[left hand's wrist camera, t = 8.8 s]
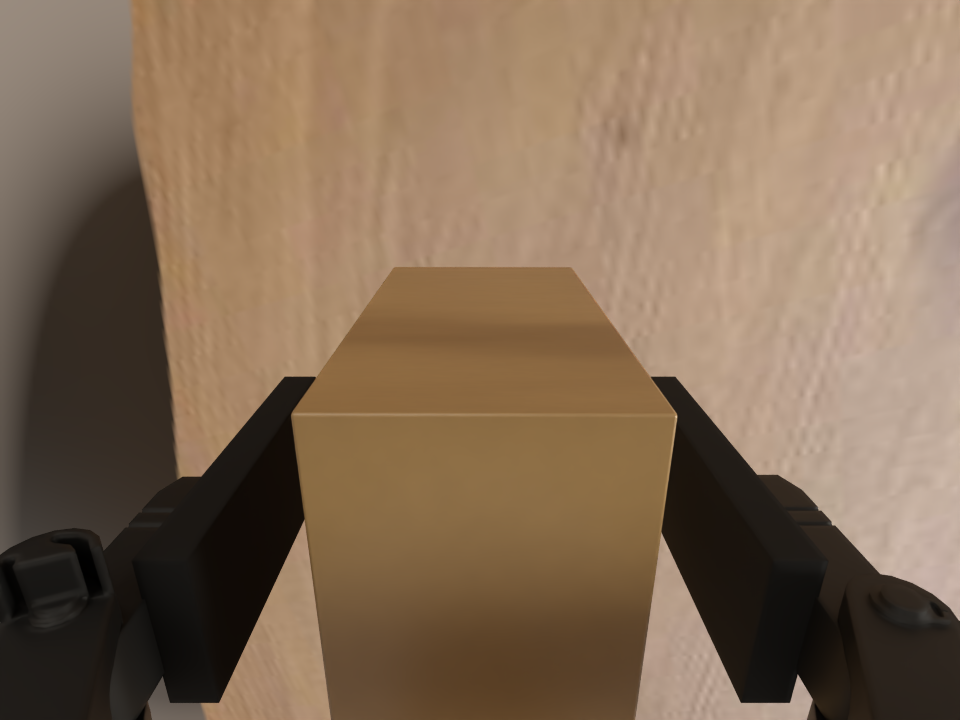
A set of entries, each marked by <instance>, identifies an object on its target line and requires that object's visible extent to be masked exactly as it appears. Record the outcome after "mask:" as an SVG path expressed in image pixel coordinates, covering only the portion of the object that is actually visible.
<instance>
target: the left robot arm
mask: <svg viewBox="0 0 960 720" xmlns="http://www.w3.org/2000/svg"><path fill="white" fill-rule="evenodd" d="M315 379H316V377H284V378H283V379H282V381H281V382H280V383H279V384H278V385H277V387H276V388H275V389H274V390H273V391H272V393H271V394H270V395H269V396H268V397H267V399H266V400H265V401H264V402H263V403H262V405H261V406H260V407H259V408H258V409H257V411H256V412H255V413H254V414H253V415H252V417H251V418H250V419H249V420H248V421H247V423H246V424H245V425H244V426H243V427H242V429H241V430H240V431H239V432H238V433H237V435H236V436H235V437H234V438H233V439H232V441H231V442H230V443H229V444H228V445H227V447H226V448H225V449H224V450H223V451H222V453H221V454H220V455H219V456H218V457H217V459H216V460H215V461H214V462H213V463H212V465H211V466H210V467H209V468H208V469H207V471H206V472H205V473H204V474H203V475H202V477H182V478H180V479H178V480H177V481H175V482H173V483H172V484H170V485H169V486H167V487H165V488H164V489H162V490H160V491H159V492H158V493H157V494H156V495H155V496H154V497H153V498H152V499H151V500H150V502H149V503H148V504H147V505H146V506H145V507H144V508H143V509H142V513H138V515H137V516H136V517H135V518H134V519H133V520H132V521H131V522H130V523H129V527H128V528H125V529H124V530H123V531H122V532H121V533H120V534H119V535H118V536H117V537H116V538H115V540H114V541H113V542H112V543H111V544H110V545H109V546H108V547H107V548H106V549H105V550H104V551H103V547H102V544H101V541H100V537H99V536H98V535H96V534H95V533H94V532H92V531H91V530H85V529H77V528H72V529H64V530H56V531H52V532H48V533H45V534H42V535H38V536H35V537H32V538H30V539H28V540H25V541H23V542H21V543H19V544H17V545H15V546H13V547H11V548H9V549H8V550H6V551H5V552H3V553H2V554H1V555H0V720H152V718H151V712H150V708H149V705H148V700H149V698H150V696H151V695H152V693H153V691H154V690H155V688H156V686H157V685H158V683H159V681H160V680H161V678H162V676H163V679H164V682H165V686H166V690H167V693H168V697H169V700H170V703H219V702H220V700H221V697H222V695H223V693H224V691H225V689H226V687H227V685H228V682H229V680H230V678H231V676H232V674H233V672H234V670H235V667H236V665H237V663H238V661H239V659H240V657H241V655H242V652H243V650H244V648H245V646H246V644H247V642H248V640H249V637H250V635H251V633H252V631H253V629H254V627H255V624H256V622H257V620H258V618H259V616H260V614H261V612H262V609H263V607H264V605H265V603H266V601H267V599H268V597H269V594H270V592H271V590H272V588H273V586H274V584H275V582H276V579H277V577H278V575H279V573H280V571H281V569H282V567H283V564H284V562H285V560H286V558H287V556H288V554H289V552H290V549H291V547H292V545H293V543H294V541H295V539H296V536H297V534H298V532H299V530H300V528H301V526H302V524H303V521H304V519H305V518H304V510H303V503H302V495H301V487H300V480H299V472H298V465H297V457H296V450H295V442H294V434H293V427H292V419H291V414H292V412H293V410H294V409H295V407H296V406H297V405H298V403H299V402H300V400H301V399H302V398H303V396H304V395H305V393H306V392H307V390H308V389H309V388H310V386H311V385H312V383H313V382H314V380H315ZM651 379H652V380H653V381H654V383H655V384H656V386H657V387H658V388H659V390H660V391H661V393H662V394H663V395H664V397H665V398H666V399H667V401H668V402H669V404H670V405H671V406H672V408H673V409H674V411H675V412H676V413H677V423H676V430H675V437H674V444H673V451H672V458H671V466H670V473H669V480H668V487H667V494H666V501H665V508H664V516H663V523H662V530H661V532H662V534H663V537H664V539H665V541H666V543H667V545H668V547H669V549H670V552H671V554H672V556H673V558H674V560H675V562H676V564H677V567H678V569H679V571H680V573H681V575H682V577H683V579H684V582H685V584H686V586H687V588H688V590H689V592H690V594H691V597H692V599H693V601H694V603H695V605H696V607H697V609H698V612H699V614H700V616H701V618H702V620H703V622H704V625H705V627H706V629H707V631H708V633H709V635H710V637H711V640H712V642H713V644H714V646H715V648H716V650H717V652H718V655H719V657H720V659H721V661H722V663H723V665H724V667H725V670H726V672H727V674H728V676H729V678H730V680H731V682H732V685H733V687H734V689H735V691H736V693H737V695H738V697H739V700H740V702H741V703H790V701H791V697H792V693H793V690H794V686H795V682H796V679H797V675H799V677H800V678H801V680H802V682H803V683H804V685H805V687H806V688H807V690H808V692H809V694H810V695H811V697H812V699H813V701H812V704H811V708H810V711H809V715H808V718H807V720H960V621H959V620H958V619H957V618H956V616H955V615H954V613H953V612H952V611H951V609H950V608H949V607H948V606H947V605H945V604H944V603H943V602H942V601H940V600H939V599H938V598H937V597H936V596H934V595H933V594H931V593H930V592H928V591H926V590H924V589H922V588H920V587H918V586H917V585H915V584H913V583H910V582H907V581H905V580H902V579H899V578H896V577H893V576H888V575H881V574H879V572H878V571H877V570H876V569H875V568H874V567H873V566H872V565H871V564H870V563H869V562H868V561H867V560H866V558H865V557H864V556H863V555H862V554H861V553H860V552H859V551H858V550H857V549H856V548H855V547H854V546H853V544H852V543H851V542H850V541H849V540H848V539H847V538H846V537H845V536H844V535H843V534H842V533H841V531H840V530H839V529H838V528H837V527H836V526H832V524H831V523H832V522H831V521H830V520H829V519H828V517H827V516H826V515H825V514H824V513H823V512H822V511H818V507H817V506H816V505H815V503H814V502H813V501H812V500H811V499H810V498H809V497H808V496H807V495H806V494H805V493H804V492H803V491H802V490H801V489H800V488H798V487H796V486H795V485H793V484H792V483H790V482H788V481H787V480H785V479H783V478H782V477H780V476H779V475H757V474H756V473H755V472H754V471H753V469H752V468H751V467H750V466H749V465H748V463H747V462H746V461H745V460H744V459H743V457H742V456H741V455H740V454H739V453H738V451H737V450H736V449H735V448H734V447H733V445H732V444H731V443H730V442H729V441H728V439H727V438H726V437H725V436H724V435H723V433H722V432H721V431H720V430H719V429H718V427H717V426H716V425H715V424H714V423H713V421H712V420H711V419H710V418H709V417H708V415H707V414H706V413H705V412H704V411H703V409H702V408H701V407H700V406H699V405H698V403H697V402H696V401H695V400H694V399H693V397H692V396H691V395H690V394H689V393H688V391H687V390H686V389H685V388H684V387H683V385H682V384H681V383H680V382H679V381H678V380H677V378H676V377H651Z"/></svg>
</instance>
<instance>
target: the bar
mask: <svg viewBox="0 0 960 720" xmlns="http://www.w3.org/2000/svg"><path fill="white" fill-rule="evenodd" d="M291 419H292V427H293V434H294V442H295V450H296V457H297V465H298V472H299V480H300V487H301V495H302V503H303V510H304V518H305V525H306V533H307V540H308V548H309V555H310V563H311V571H312V578H313V586H314V593H315V601H316V608H317V616H318V624H319V631H320V639H321V646H322V654H323V661H324V669H325V677H326V684H327V692H328V699H329V707H330V714H331V720H635V716H636V709H637V702H638V694H639V687H640V680H641V673H642V666H643V659H644V651H645V644H646V637H647V630H648V623H649V616H650V609H651V601H652V594H653V587H654V580H655V573H656V566H657V559H658V551H659V544H660V537H661V530H662V523H663V516H664V508H665V501H666V494H667V487H668V480H669V473H670V466H671V458H672V451H673V444H674V437H675V430H676V423H677V413H676V412H675V411H674V409H673V408H672V406H671V405H670V404H669V402H668V401H667V399H666V398H665V397H664V395H663V394H662V393H661V391H660V390H659V388H658V387H657V386H656V384H655V383H654V381H653V380H652V379H651V377H650V376H649V374H648V373H647V372H646V370H645V369H644V367H643V366H642V365H641V363H640V362H639V361H638V359H637V358H636V356H635V355H634V354H633V352H632V351H631V349H630V348H629V347H628V345H627V344H626V342H625V341H624V340H623V338H622V337H621V336H620V334H619V333H618V331H617V330H616V329H615V327H614V326H613V324H612V323H611V322H610V320H609V319H608V317H607V316H606V315H605V313H604V312H603V311H602V309H601V308H600V306H599V305H598V304H597V302H596V301H595V299H594V298H593V297H592V295H591V294H590V292H589V291H588V290H587V288H586V287H585V286H584V284H583V283H582V281H581V280H580V279H579V277H578V276H577V274H576V273H575V272H574V270H573V269H572V268H571V267H395V268H393V270H392V271H391V273H390V274H389V275H388V277H387V278H386V280H385V281H384V283H383V284H382V285H381V287H380V288H379V290H378V291H377V292H376V294H375V295H374V297H373V298H372V300H371V301H370V302H369V304H368V305H367V307H366V308H365V310H364V311H363V312H362V314H361V315H360V317H359V318H358V319H357V321H356V322H355V324H354V325H353V327H352V328H351V329H350V331H349V332H348V334H347V335H346V336H345V338H344V339H343V341H342V342H341V344H340V345H339V346H338V348H337V349H336V351H335V352H334V354H333V355H332V356H331V358H330V359H329V361H328V362H327V363H326V365H325V366H324V368H323V369H322V371H321V372H320V373H319V375H318V376H317V378H316V379H315V380H314V382H313V383H312V385H311V386H310V388H309V389H308V390H307V392H306V393H305V395H304V396H303V398H302V399H301V400H300V402H299V403H298V405H297V406H296V407H295V409H294V410H293V412H292V414H291Z"/></svg>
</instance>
